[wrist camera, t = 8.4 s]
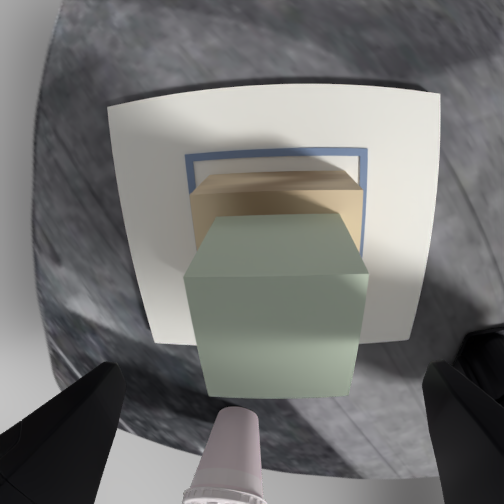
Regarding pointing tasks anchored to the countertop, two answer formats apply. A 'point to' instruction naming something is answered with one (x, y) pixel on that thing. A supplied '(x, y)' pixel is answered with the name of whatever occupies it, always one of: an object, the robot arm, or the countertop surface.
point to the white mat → (273, 160)
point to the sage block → (277, 306)
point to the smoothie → (229, 462)
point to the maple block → (277, 197)
